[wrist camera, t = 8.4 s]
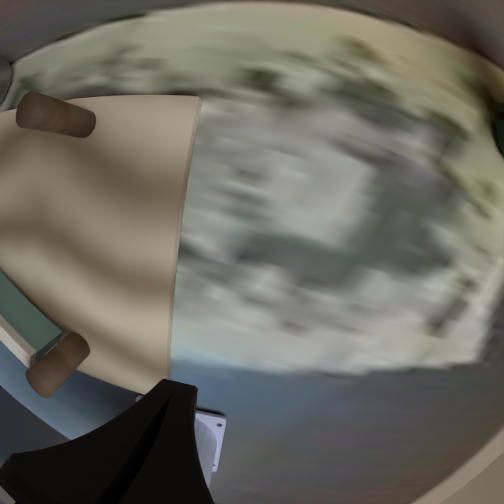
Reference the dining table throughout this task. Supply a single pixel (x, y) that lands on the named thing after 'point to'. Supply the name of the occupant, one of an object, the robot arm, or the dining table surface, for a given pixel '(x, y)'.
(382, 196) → the dining table surface
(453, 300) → the dining table surface
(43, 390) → the gate frame
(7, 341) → the gate
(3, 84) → the plastic bottle
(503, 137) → the character mug
